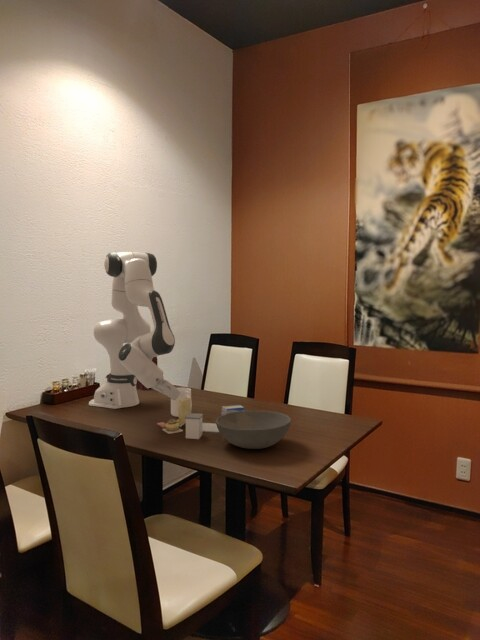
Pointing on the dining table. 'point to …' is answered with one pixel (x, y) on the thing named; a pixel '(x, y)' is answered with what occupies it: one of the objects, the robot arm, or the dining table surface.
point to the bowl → (253, 428)
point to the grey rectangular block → (193, 425)
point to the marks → (169, 431)
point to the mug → (183, 394)
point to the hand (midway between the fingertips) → (174, 398)
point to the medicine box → (232, 409)
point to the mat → (209, 427)
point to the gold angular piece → (180, 415)
